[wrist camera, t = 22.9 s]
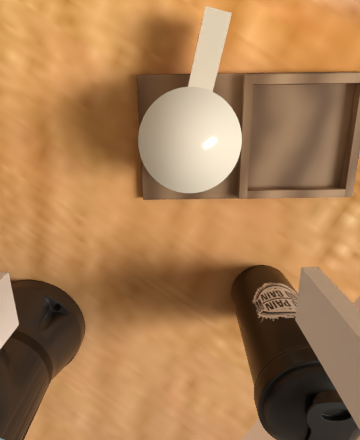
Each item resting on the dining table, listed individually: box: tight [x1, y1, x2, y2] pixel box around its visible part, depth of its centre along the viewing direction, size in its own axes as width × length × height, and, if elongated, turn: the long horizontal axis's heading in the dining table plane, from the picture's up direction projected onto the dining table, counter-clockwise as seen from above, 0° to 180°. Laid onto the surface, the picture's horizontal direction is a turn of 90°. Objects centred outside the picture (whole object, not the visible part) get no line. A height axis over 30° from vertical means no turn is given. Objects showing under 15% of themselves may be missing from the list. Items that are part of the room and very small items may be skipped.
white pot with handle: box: [138, 6, 242, 193], centre depth 34 cm, size 18×10×9 cm, turn 167°
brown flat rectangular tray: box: [137, 72, 360, 200], centre depth 39 cm, size 27×15×2 cm, turn 91°
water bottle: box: [231, 265, 360, 440], centre depth 36 cm, size 10×10×23 cm
